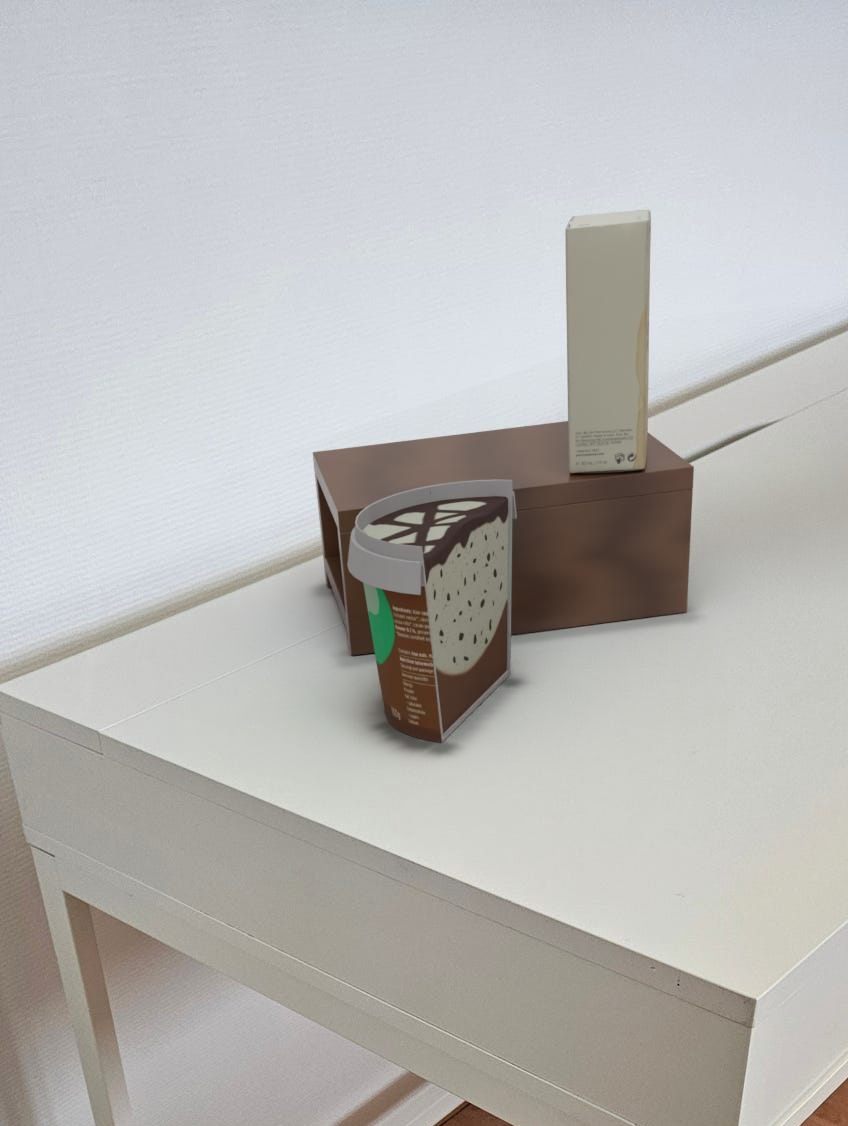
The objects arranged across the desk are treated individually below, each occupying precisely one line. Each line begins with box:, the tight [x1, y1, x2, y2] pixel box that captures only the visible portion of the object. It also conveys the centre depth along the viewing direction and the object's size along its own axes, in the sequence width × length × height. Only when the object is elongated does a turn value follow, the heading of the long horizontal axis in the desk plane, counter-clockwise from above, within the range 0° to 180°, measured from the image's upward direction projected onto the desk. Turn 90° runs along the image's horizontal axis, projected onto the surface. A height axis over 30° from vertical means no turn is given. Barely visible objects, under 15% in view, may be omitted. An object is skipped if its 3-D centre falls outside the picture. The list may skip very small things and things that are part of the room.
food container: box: [347, 480, 517, 743], centre depth 72 cm, size 12×6×10 cm, turn 154°
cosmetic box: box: [564, 209, 652, 473], centre depth 77 cm, size 6×4×12 cm
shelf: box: [312, 420, 695, 656], centre depth 85 cm, size 20×14×8 cm
